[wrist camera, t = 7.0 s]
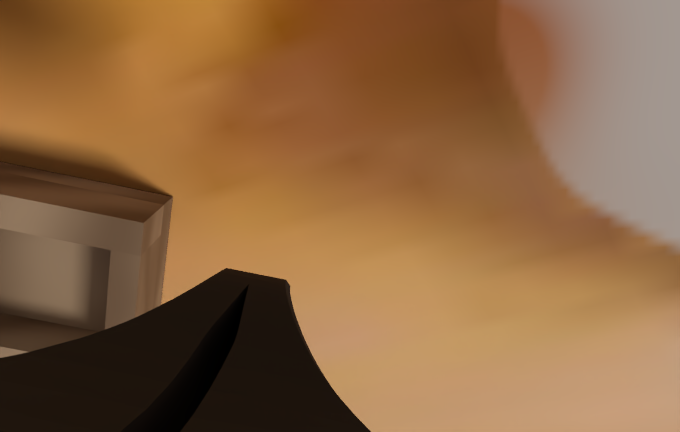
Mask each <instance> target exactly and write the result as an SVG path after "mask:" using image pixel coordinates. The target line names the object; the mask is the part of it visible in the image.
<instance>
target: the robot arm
mask: <svg viewBox="0 0 680 432" xmlns="http://www.w3.org/2000/svg"><path fill="white" fill-rule="evenodd" d="M0 432H371V431H370V430H369V429H368V428H367V427H366V426H365V425H364V424H363V423H362V422H361V421H360V420H359V419H358V418H357V417H356V416H355V415H354V414H353V413H352V411H351V410H350V409H349V408H348V407H347V406H346V405H345V403H344V402H343V401H342V400H341V399H340V398H339V396H338V395H337V394H336V393H335V391H334V390H333V389H332V387H331V386H330V384H329V383H328V381H327V380H326V378H325V377H324V375H323V373H322V372H321V370H320V368H319V367H318V365H317V363H316V361H315V360H314V358H313V356H312V354H311V352H310V350H309V348H308V346H307V344H306V341H305V339H304V337H303V335H302V332H301V329H300V327H299V324H298V321H297V319H296V316H295V313H294V309H293V305H292V301H291V296H290V285H289V284H288V282H287V281H286V280H284V279H279V278H274V277H269V276H264V275H259V274H254V273H248V272H243V271H238V270H233V269H228V268H226V269H224V270H222V271H220V272H219V273H217V274H215V275H214V276H212V277H210V278H209V279H207V280H205V281H204V282H202V283H200V284H199V285H197V286H195V287H194V288H192V289H190V290H188V291H187V292H185V293H183V294H181V295H180V296H178V297H176V298H174V299H173V300H170V301H168V302H166V303H164V304H162V305H160V306H158V307H156V308H154V309H152V310H150V311H148V312H146V313H144V314H142V315H140V316H138V317H135V318H133V319H131V320H128V321H126V322H124V323H121V324H119V325H116V326H113V327H111V328H108V329H105V330H102V331H99V332H97V333H94V334H91V335H88V336H85V337H82V338H79V339H75V340H71V341H68V342H64V343H60V344H56V345H53V346H49V347H45V348H42V349H38V350H34V351H31V352H26V353H22V354H17V355H13V356H8V357H3V358H0Z"/></svg>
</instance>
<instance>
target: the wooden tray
mask: <svg viewBox="0 0 680 432" xmlns="http://www.w3.org/2000/svg"><path fill="white" fill-rule="evenodd" d="M172 200H173V197H171V196H166V195H161V194H156V193H151V192H146V191H141V190H136V189H131V188H126V187H122V186H117V185H112V184H107V183H102V182H97V181H92V180H87V179H82V178H77V177H72V176H67V175H63V174H58V173H53V172H48V171H43V170H38V169H33V168H28V167H23V166H18V165H13V164H8V163H3V162H0V358H3V357H8V356H13V355H17V354H22V353H26V352H31V351H34V350H38V349H42V348H45V347H49V346H53V345H56V344H60V343H64V342H68V341H71V340H75V339H79V338H82V337H85V336H88V335H91V334H94V333H97V332H99V331H102V330H105V329H108V328H111V327H113V326H116V325H119V324H121V323H124V322H126V321H128V320H131V319H133V318H135V317H138V316H140V315H142V314H144V313H146V312H148V311H150V310H152V309H154V308H156V307H158V306H160V305H161V298H162V289H163V280H164V271H165V262H166V253H167V244H168V235H169V226H170V217H171V209H172Z"/></svg>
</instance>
